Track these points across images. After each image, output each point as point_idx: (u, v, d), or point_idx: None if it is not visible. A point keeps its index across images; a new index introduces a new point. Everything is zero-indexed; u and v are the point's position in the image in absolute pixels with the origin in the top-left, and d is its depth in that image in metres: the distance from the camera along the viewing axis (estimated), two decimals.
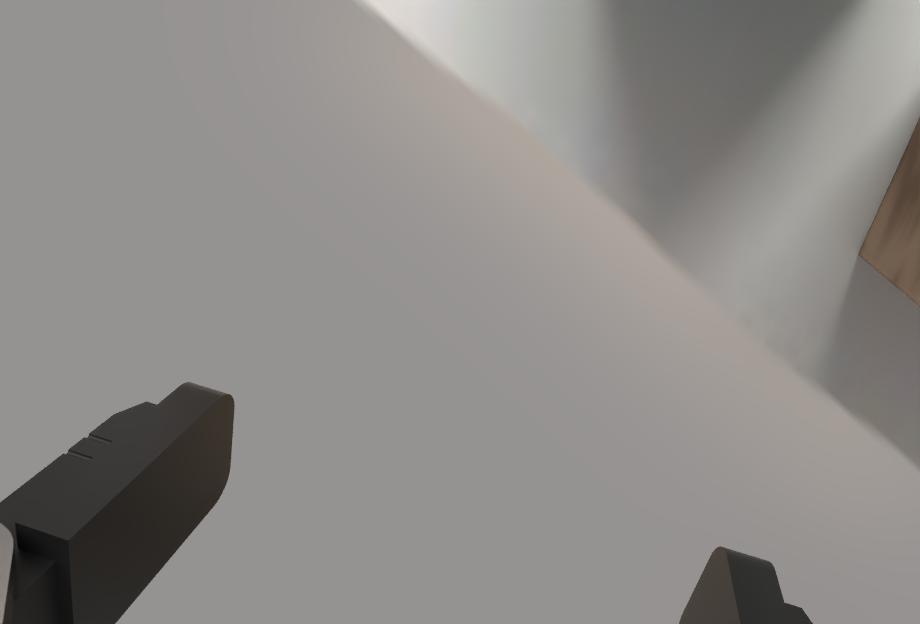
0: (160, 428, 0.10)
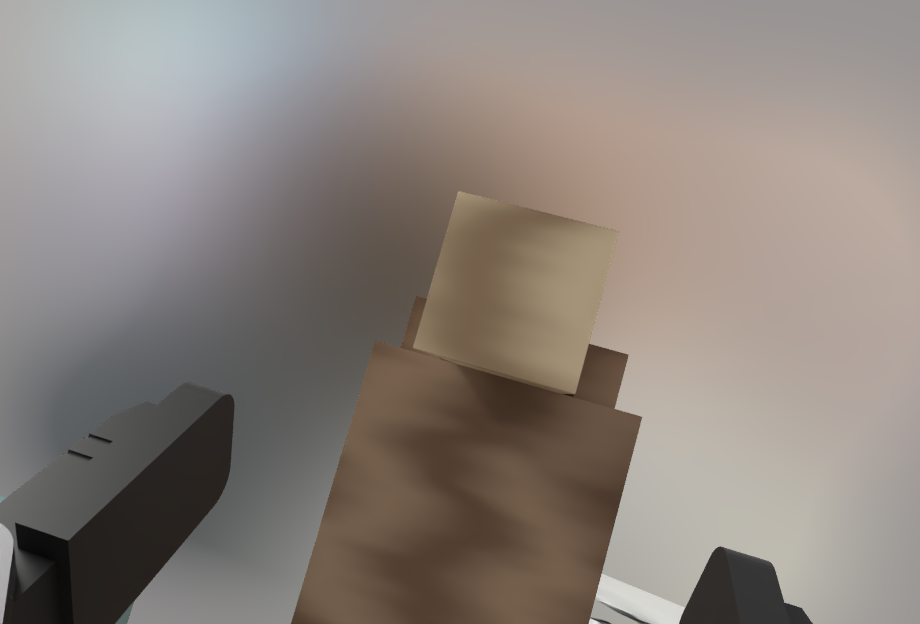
0: (160, 428, 0.10)
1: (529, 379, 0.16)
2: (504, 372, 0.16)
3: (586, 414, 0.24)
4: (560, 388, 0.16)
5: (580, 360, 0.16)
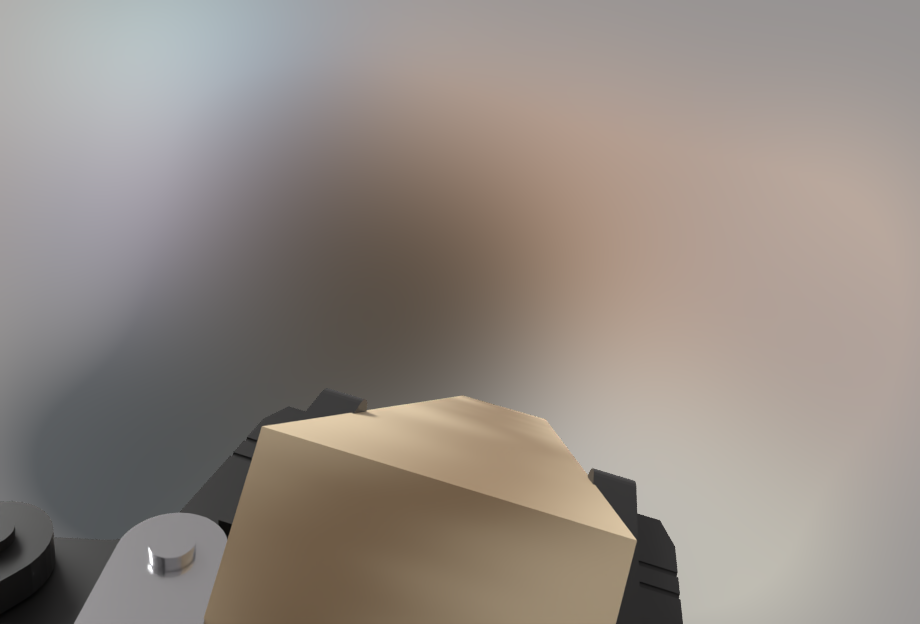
0: None
1: None
2: None
3: None
4: None
5: None
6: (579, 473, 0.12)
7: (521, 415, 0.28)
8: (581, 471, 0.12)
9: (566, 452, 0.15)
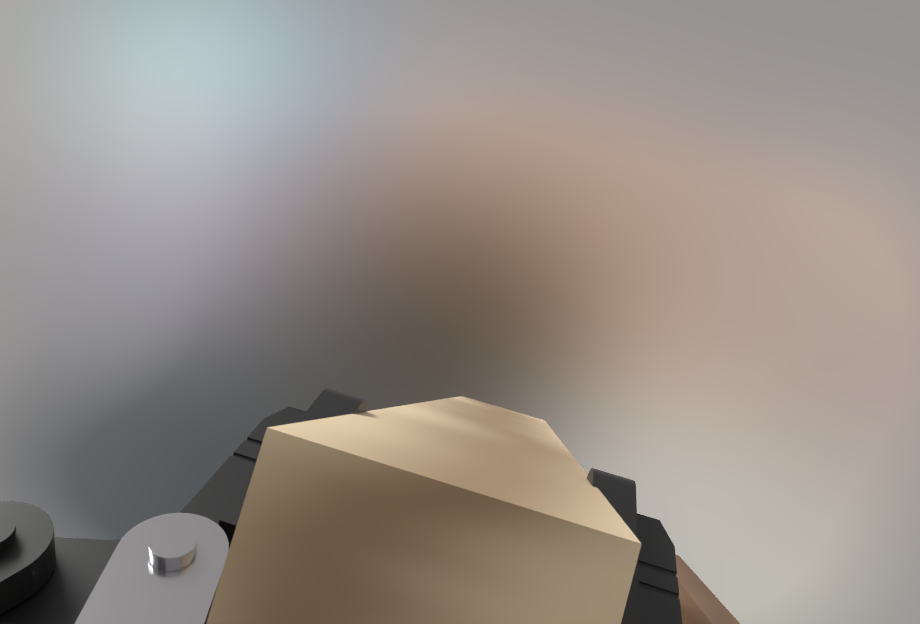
0: None
1: None
2: None
3: None
4: None
5: None
6: (581, 475, 0.12)
7: (520, 416, 0.28)
8: (582, 473, 0.12)
9: (566, 454, 0.15)
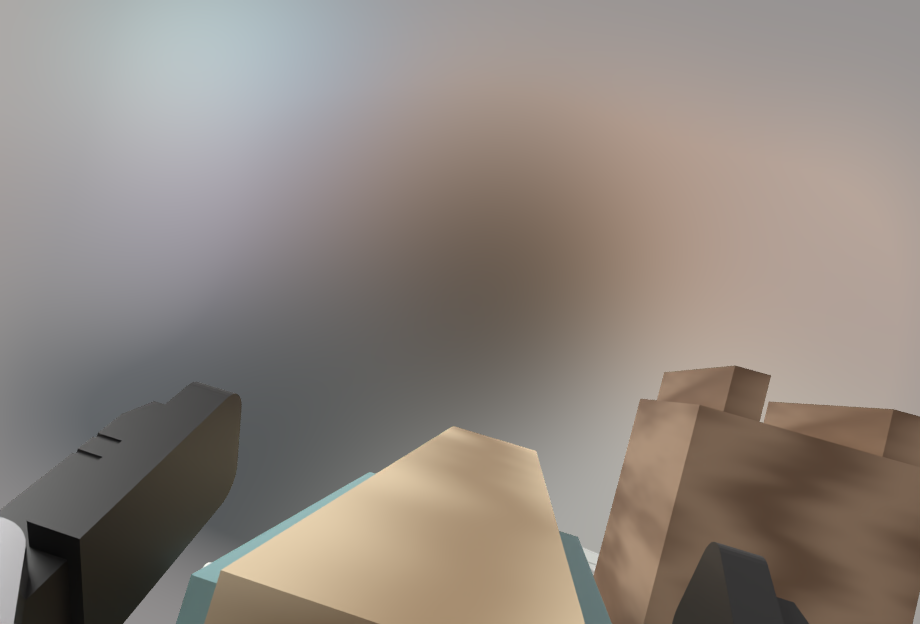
0: (169, 427, 0.10)
1: None
2: None
3: (895, 472, 0.28)
4: None
5: None
6: (559, 563, 0.11)
7: (511, 450, 0.28)
8: (562, 558, 0.12)
9: (550, 519, 0.15)
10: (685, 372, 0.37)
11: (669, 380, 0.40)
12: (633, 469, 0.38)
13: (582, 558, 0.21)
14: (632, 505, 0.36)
